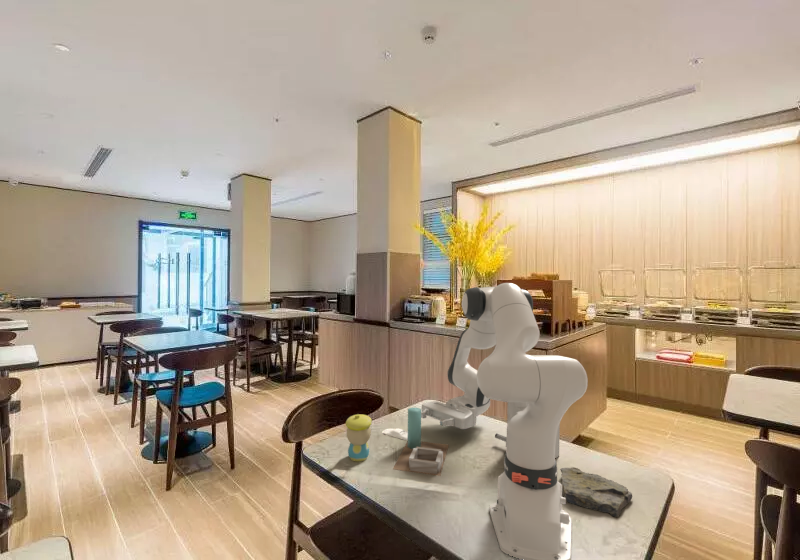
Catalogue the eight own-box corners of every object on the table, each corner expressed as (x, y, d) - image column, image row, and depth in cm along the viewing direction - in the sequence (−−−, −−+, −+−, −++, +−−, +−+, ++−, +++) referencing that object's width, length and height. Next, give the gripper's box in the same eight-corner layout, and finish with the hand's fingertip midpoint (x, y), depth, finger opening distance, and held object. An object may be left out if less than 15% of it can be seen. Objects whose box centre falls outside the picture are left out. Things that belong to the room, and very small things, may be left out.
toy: (373, 455, 120) (373, 409, 120) (368, 470, 111) (368, 420, 111) (349, 454, 121) (349, 408, 121) (342, 469, 112) (342, 419, 112)
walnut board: (440, 481, 106) (440, 465, 106) (392, 474, 109) (392, 458, 109) (448, 449, 125) (449, 435, 125) (408, 444, 129) (408, 431, 128)
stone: (633, 495, 100) (633, 482, 100) (625, 525, 88) (625, 510, 88) (562, 473, 111) (563, 462, 111) (547, 497, 99) (547, 484, 99)
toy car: (386, 432, 139) (387, 423, 139) (414, 440, 132) (415, 430, 132) (378, 437, 134) (378, 428, 134) (406, 446, 128) (406, 436, 128)
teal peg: (419, 449, 121) (419, 412, 121) (406, 448, 122) (406, 411, 122) (422, 443, 125) (422, 408, 125) (409, 442, 127) (409, 407, 126)
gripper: (436, 394, 146) (410, 402, 137) (479, 409, 131) (453, 418, 121) (436, 411, 146) (410, 419, 137) (479, 427, 131) (453, 438, 121)
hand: (431, 419), depth 129 cm, fingers open, 8 cm apart
